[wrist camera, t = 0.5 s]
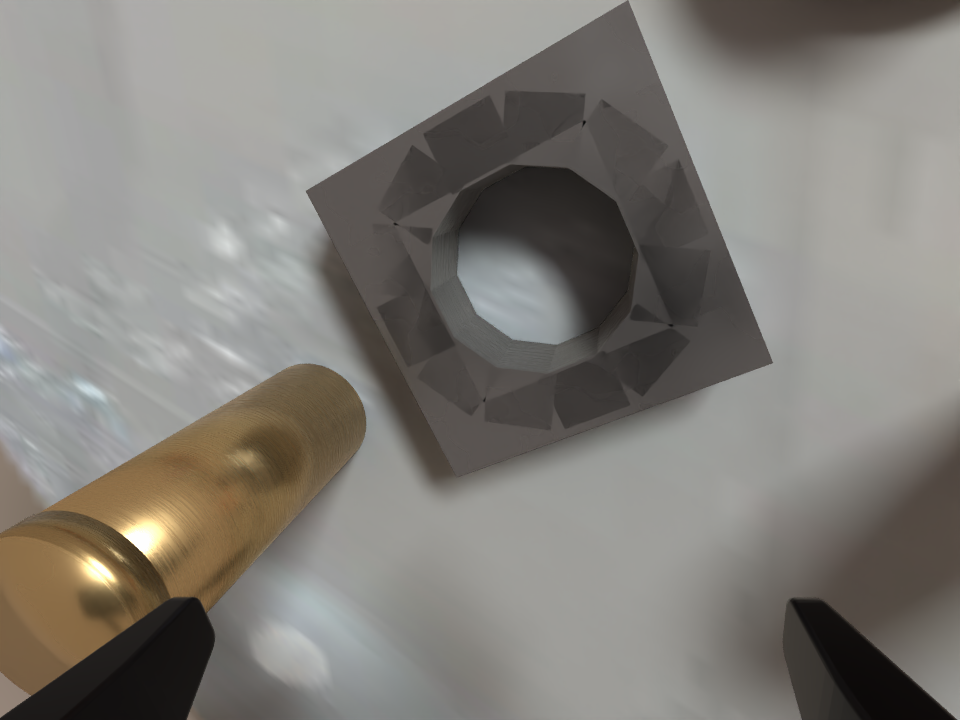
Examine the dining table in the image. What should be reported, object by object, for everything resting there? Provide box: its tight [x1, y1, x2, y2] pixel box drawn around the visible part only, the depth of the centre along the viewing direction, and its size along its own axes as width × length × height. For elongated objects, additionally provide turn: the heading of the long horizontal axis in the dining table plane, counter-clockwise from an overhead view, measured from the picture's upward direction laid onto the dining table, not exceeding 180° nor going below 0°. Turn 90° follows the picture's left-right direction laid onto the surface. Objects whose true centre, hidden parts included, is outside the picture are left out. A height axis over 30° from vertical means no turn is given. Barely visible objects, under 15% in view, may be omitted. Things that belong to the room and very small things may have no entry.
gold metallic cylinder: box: [0, 364, 366, 696], centre depth 20 cm, size 5×5×13 cm
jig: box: [306, 0, 773, 477], centre depth 20 cm, size 11×11×4 cm
